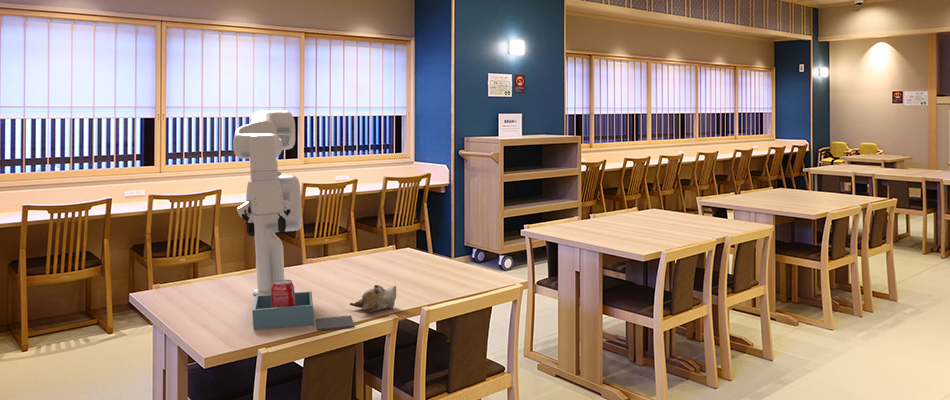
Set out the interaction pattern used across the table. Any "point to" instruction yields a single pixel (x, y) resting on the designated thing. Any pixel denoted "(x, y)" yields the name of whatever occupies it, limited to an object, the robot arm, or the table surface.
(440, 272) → the table surface
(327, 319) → the gray square plate
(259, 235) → the robot arm
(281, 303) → the soda can
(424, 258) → the table surface
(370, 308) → the ceramic sculpture
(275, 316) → the open box
